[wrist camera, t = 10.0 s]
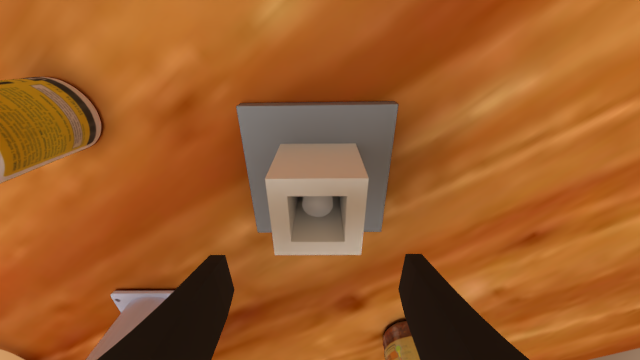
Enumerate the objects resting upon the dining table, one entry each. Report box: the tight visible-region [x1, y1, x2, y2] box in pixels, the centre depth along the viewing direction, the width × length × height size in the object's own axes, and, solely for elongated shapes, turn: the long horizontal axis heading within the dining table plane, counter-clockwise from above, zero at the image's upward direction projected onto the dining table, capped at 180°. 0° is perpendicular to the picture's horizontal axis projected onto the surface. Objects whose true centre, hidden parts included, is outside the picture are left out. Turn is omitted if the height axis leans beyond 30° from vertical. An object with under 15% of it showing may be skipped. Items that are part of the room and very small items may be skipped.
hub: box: [265, 143, 369, 255], centre depth 15 cm, size 5×5×5 cm
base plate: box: [236, 101, 398, 232], centre depth 16 cm, size 10×10×4 cm
